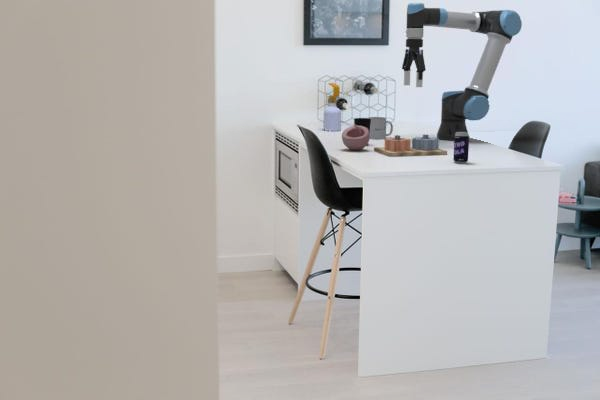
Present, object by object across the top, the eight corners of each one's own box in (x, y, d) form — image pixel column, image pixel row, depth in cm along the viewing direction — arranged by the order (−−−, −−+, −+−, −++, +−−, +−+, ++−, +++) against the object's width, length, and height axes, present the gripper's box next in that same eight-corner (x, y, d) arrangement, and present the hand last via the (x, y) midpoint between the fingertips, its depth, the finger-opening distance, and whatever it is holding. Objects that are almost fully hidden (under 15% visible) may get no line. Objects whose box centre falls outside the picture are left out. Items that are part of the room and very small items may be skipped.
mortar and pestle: (337, 151, 366) (338, 124, 364) (346, 147, 377) (347, 122, 375) (364, 152, 362) (365, 125, 359) (372, 149, 373) (373, 123, 370)
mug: (369, 139, 408) (370, 118, 406) (366, 137, 416) (367, 117, 414) (394, 139, 409) (395, 118, 407) (391, 137, 417) (391, 117, 416)
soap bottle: (332, 129, 451) (332, 82, 447) (344, 130, 445) (345, 83, 440) (319, 130, 445) (320, 83, 441) (332, 131, 439) (332, 83, 434)
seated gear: (424, 146, 372) (424, 136, 371) (443, 149, 364) (444, 138, 363) (406, 148, 365) (407, 138, 364) (425, 151, 357) (426, 140, 356)
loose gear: (404, 147, 368) (404, 137, 367) (414, 151, 357) (415, 140, 356) (380, 148, 364) (380, 138, 364) (390, 151, 354) (390, 141, 353)
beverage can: (451, 161, 338) (453, 131, 336) (465, 161, 339) (467, 131, 337) (455, 163, 333) (456, 133, 331) (469, 163, 333) (471, 133, 331)
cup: (369, 146, 382) (369, 119, 380) (352, 145, 384) (352, 119, 382) (371, 144, 390) (371, 118, 388) (354, 143, 391) (355, 117, 389)
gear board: (428, 149, 375) (429, 132, 373) (447, 154, 358) (447, 137, 356) (373, 150, 367) (374, 133, 366) (389, 156, 351) (390, 138, 349)
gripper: (395, 38, 390) (394, 84, 394) (418, 38, 366) (416, 88, 370) (410, 38, 392) (409, 84, 396) (434, 38, 369) (432, 87, 373)
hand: (412, 86), depth 383 cm, fingers open, 13 cm apart
